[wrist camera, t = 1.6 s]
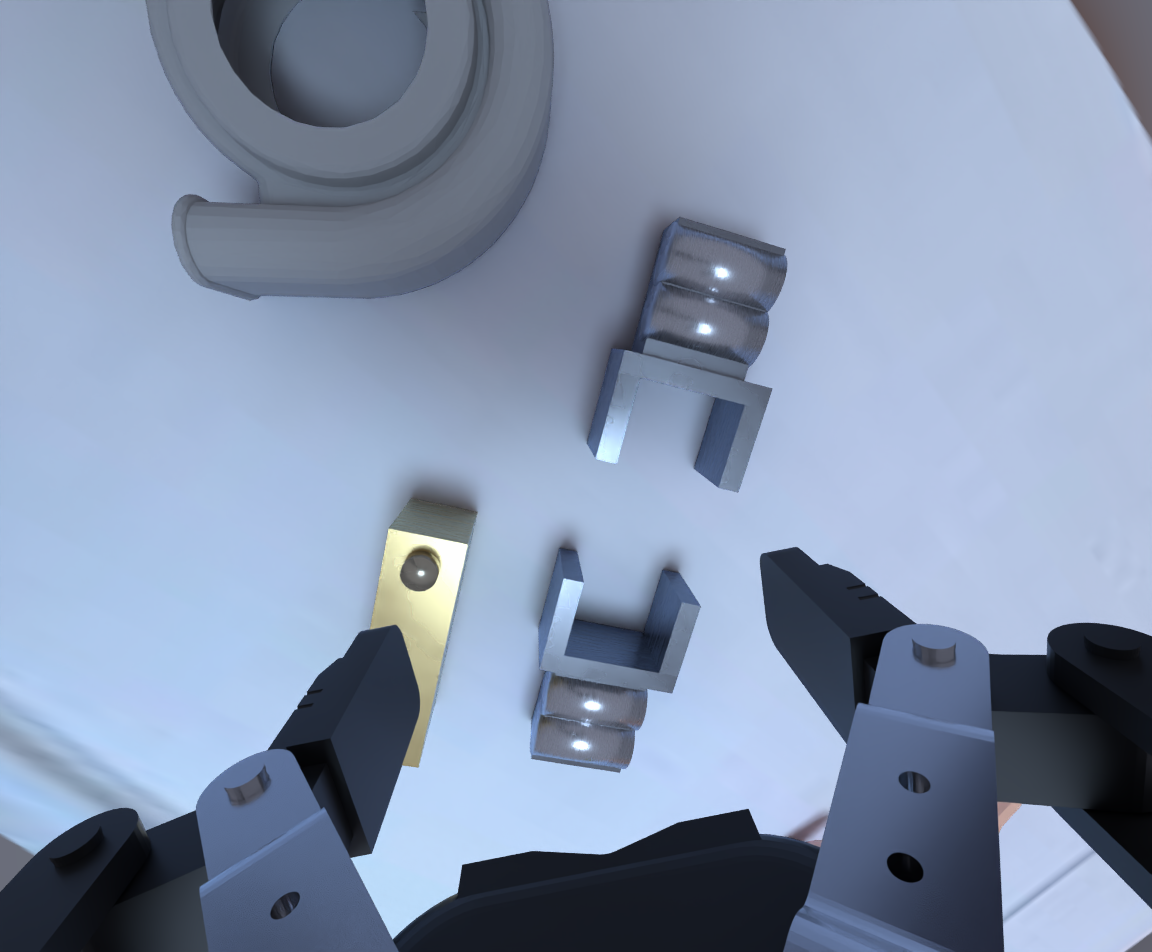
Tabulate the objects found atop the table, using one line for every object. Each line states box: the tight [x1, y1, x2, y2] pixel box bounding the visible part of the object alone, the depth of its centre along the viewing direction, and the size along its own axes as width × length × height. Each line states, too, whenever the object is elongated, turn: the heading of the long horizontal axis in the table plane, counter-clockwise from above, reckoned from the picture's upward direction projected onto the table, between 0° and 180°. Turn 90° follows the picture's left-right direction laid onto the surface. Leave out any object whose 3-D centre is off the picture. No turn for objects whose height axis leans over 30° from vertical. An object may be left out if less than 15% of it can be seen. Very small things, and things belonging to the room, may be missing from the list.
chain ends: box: [530, 217, 787, 773], centre depth 28 cm, size 7×28×4 cm, turn 166°
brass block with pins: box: [370, 498, 477, 767], centre depth 28 cm, size 4×12×6 cm, turn 166°
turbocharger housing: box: [146, 0, 554, 301], centre depth 22 cm, size 17×6×15 cm
